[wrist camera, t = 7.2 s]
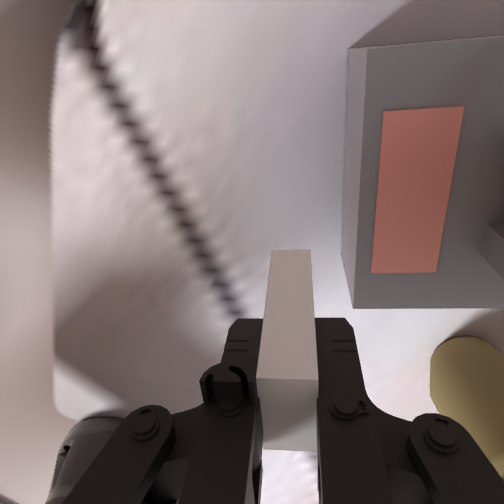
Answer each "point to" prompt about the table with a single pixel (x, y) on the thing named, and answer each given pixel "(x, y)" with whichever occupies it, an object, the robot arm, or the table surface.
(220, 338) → the table surface
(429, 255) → the switch block
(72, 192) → the table surface
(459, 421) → the squeeze bottle
